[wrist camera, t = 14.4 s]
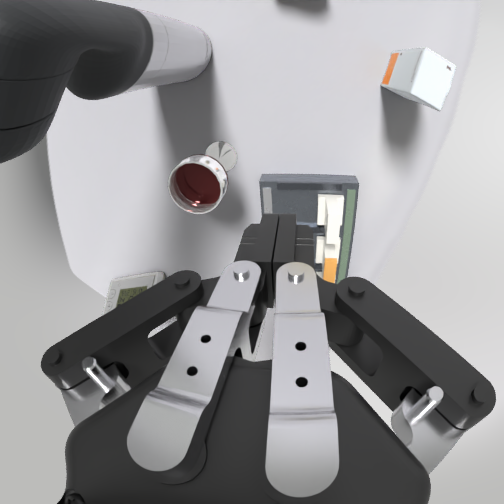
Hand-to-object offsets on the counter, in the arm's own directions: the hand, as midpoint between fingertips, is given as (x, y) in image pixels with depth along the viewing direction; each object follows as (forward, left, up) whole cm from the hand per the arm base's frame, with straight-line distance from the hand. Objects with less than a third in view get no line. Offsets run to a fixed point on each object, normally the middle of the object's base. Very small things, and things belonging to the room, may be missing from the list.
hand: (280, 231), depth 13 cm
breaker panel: (+2, -19, -29) cm, 35 cm away
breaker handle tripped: (+5, -19, -26) cm, 32 cm away
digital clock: (-34, -32, -29) cm, 55 cm away
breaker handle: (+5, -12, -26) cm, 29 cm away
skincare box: (+15, +8, -29) cm, 34 cm away
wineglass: (-11, -5, -29) cm, 32 cm away
